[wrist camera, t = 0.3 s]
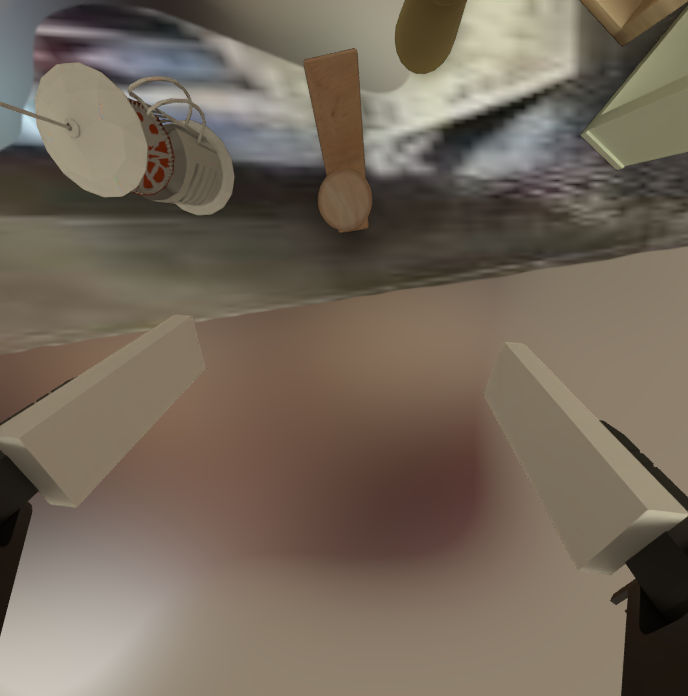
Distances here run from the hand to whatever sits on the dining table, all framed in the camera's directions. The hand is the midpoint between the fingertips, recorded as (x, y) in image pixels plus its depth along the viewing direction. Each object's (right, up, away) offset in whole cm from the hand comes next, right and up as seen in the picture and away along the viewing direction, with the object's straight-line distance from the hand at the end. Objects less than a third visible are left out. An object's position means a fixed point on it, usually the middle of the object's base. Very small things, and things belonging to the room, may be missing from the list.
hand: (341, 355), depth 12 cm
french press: (-17, +22, +21) cm, 35 cm away
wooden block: (+1, +20, +21) cm, 29 cm away
